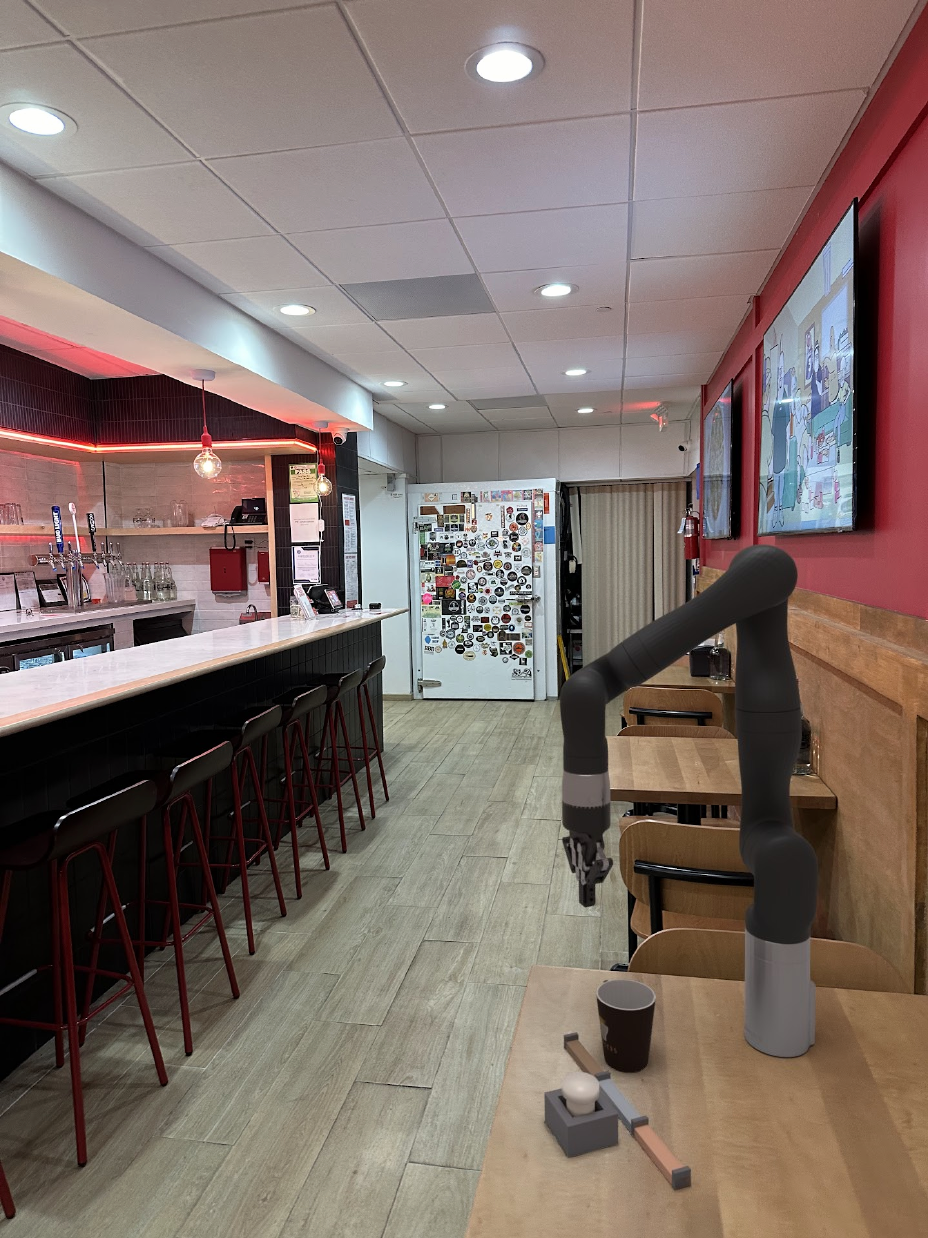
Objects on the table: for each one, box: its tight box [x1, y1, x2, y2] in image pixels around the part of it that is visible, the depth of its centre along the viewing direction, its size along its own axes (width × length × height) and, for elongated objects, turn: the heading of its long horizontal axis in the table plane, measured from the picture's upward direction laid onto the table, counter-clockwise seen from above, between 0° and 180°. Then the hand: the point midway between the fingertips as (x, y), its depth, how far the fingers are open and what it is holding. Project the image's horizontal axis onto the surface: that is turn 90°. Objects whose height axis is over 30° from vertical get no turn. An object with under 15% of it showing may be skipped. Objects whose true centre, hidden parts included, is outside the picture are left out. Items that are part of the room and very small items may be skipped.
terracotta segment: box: [630, 1115, 692, 1191], centre depth 102 cm, size 2×10×2 cm, turn 19°
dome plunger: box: [561, 1071, 599, 1118], centre depth 106 cm, size 5×5×6 cm
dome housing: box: [543, 1087, 619, 1159], centre depth 106 cm, size 7×7×4 cm
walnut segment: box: [563, 1031, 605, 1077], centre depth 121 cm, size 2×10×2 cm, turn 18°
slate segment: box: [595, 1070, 642, 1133], centre depth 111 cm, size 2×10×2 cm, turn 19°
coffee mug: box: [595, 978, 657, 1074], centre depth 123 cm, size 12×9×10 cm
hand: (587, 904), depth 131 cm, fingers closed
